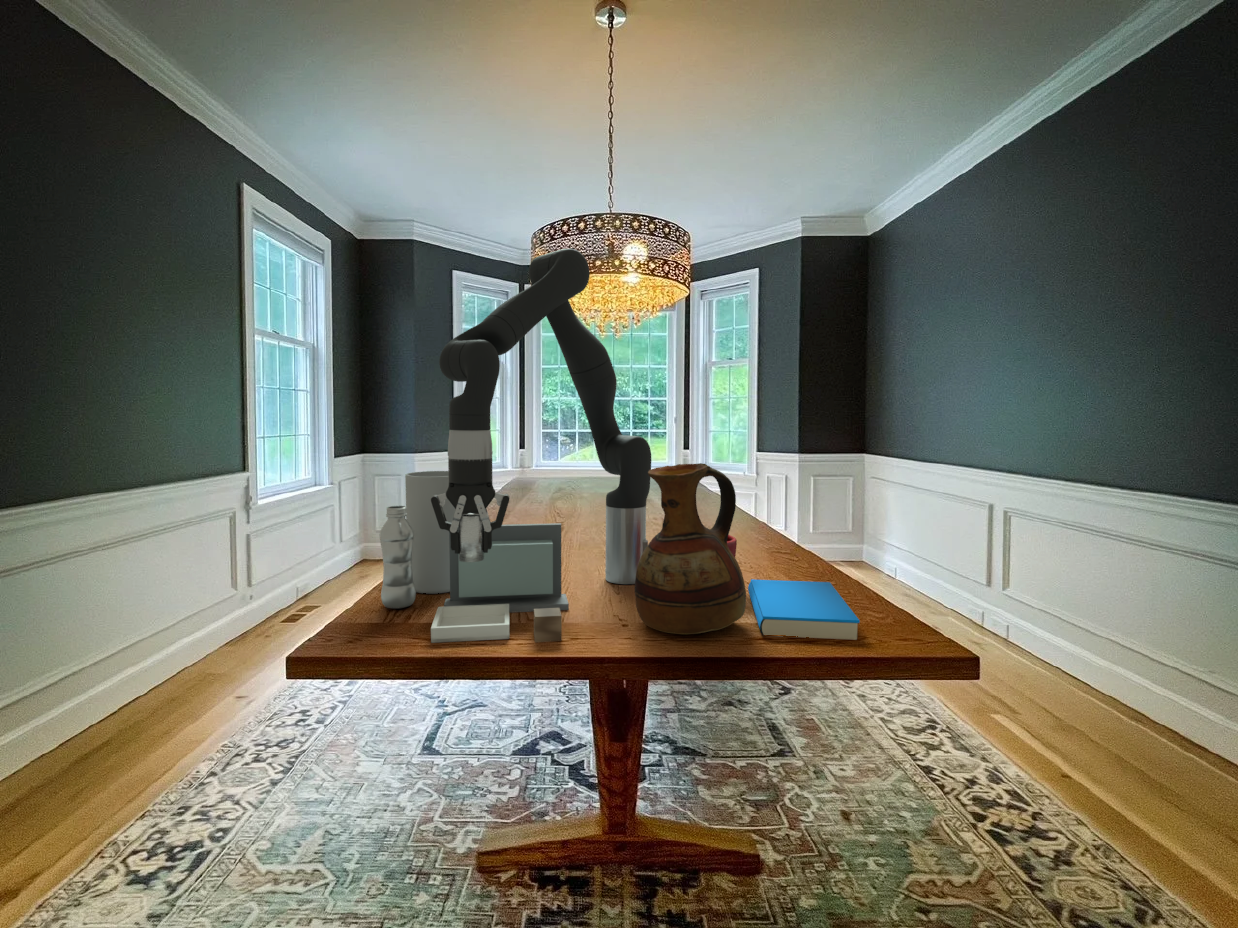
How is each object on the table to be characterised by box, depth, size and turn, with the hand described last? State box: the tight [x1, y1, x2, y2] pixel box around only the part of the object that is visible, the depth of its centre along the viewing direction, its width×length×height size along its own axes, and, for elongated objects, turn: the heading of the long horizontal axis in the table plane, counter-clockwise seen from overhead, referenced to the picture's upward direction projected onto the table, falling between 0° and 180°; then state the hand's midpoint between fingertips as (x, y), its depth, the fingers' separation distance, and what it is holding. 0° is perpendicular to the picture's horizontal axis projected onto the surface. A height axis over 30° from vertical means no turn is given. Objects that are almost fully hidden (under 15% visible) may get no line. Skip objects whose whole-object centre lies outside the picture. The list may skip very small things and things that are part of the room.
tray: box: [430, 604, 510, 644], centre depth 117 cm, size 13×12×2 cm
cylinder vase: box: [404, 470, 456, 595], centre depth 143 cm, size 12×12×25 cm
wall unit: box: [442, 522, 570, 613], centre depth 130 cm, size 24×7×16 cm, turn 100°
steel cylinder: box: [458, 513, 484, 562], centre depth 116 cm, size 4×4×8 cm
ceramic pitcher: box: [634, 463, 747, 635], centre depth 119 cm, size 20×20×30 cm
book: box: [747, 578, 861, 641], centre depth 126 cm, size 17×4×25 cm
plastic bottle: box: [379, 505, 417, 610], centre depth 129 cm, size 6×7×20 cm
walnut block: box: [533, 608, 563, 643], centre depth 113 cm, size 4×4×4 cm
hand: (471, 551), depth 116 cm, fingers closed on steel cylinder, 4 cm apart
